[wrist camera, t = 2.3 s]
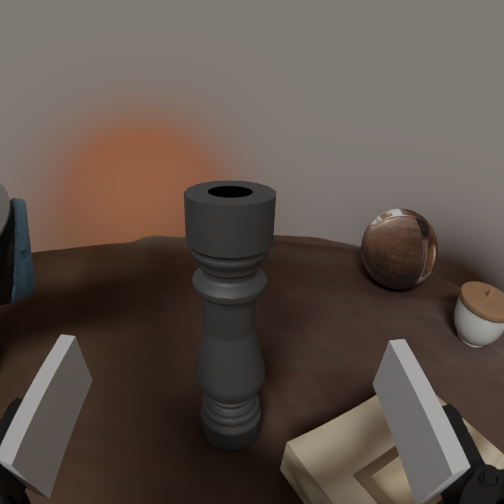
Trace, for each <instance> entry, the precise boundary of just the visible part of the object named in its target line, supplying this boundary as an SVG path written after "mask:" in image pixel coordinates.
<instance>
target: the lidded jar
mask: <svg viewBox="0 0 504 504" xmlns="http://www.w3.org/2000/svg"><path fill="white" fill-rule="evenodd" d="M454 323H455V327H456V330H457V334H458V337H459V338H460V339H461V340H462V341H463V342H464V343H465V344H467V345H469V346H471V347H475V348H480V347H483V346H484V345H488V344H490V343H492V342H494V341H495V340H497V339H498V338H499V337H500V336H501V334H502V333H503V332H504V293H503V292H502V291H500V290H499V289H497V288H495V287H493V286H491V285H488V284H485V283H481V282H467V283H465V284H464V285H463V286H462V287H461V290H460V293H459V297H458V300H457V303H456V307H455V312H454Z"/></svg>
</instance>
